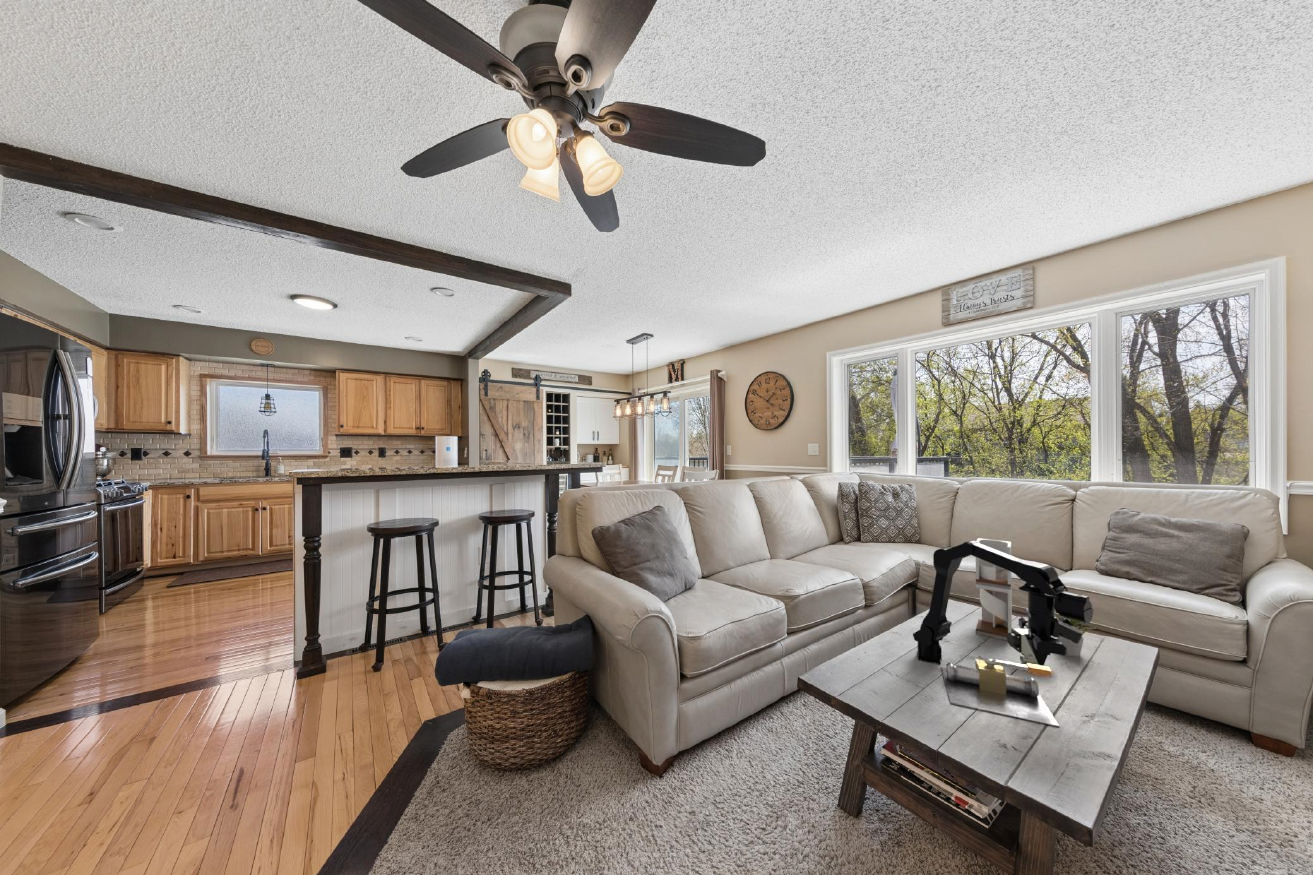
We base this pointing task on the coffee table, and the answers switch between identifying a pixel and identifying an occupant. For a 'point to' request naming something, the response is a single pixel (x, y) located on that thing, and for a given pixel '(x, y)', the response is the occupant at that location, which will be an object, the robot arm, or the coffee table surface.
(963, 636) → the coffee table surface
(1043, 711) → the pipe on metal plate
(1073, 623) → the house plant
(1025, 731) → the coffee table surface
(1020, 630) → the pneumatic valve
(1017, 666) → the valve lever
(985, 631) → the white shelf tower
